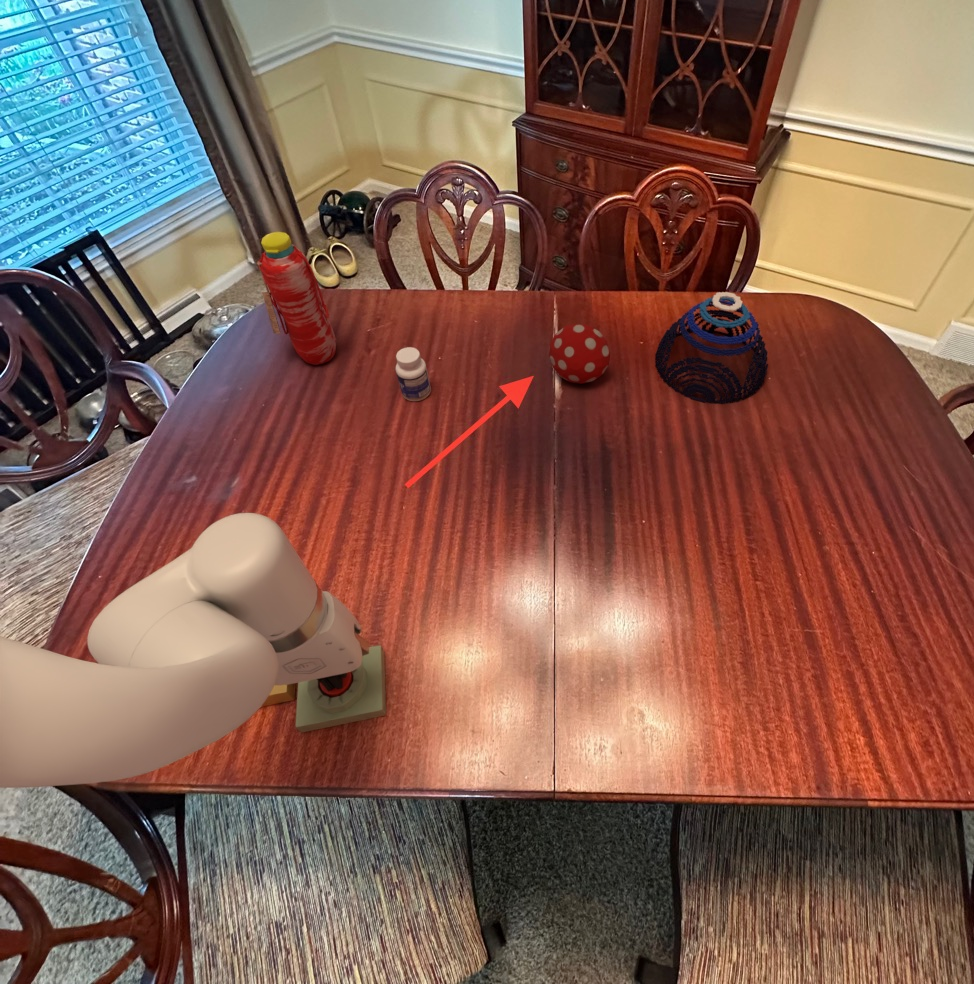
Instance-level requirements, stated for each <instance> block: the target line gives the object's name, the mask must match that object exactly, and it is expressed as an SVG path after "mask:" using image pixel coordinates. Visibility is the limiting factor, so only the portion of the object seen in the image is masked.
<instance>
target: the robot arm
mask: <svg viewBox="0 0 974 984" xmlns="http://www.w3.org/2000/svg"><path fill="white" fill-rule="evenodd" d="M361 632H362V626H361V624H360V623H359V621H358V619H357V617H356V616H355V615H354V614H353V612H352V611H351V610H350V609H349V608H348V607H347V606H346V605H345V603H343V602H342V601H341V600H340V599H339V598H338V597H336V596H335V595H334V594H332V593H331V592H329V591H326V590H322V589H321V588H320V586H319V585H318V583H317V582H316V580H315V578H314V577H313V576H312V573H311V572H310V571H309V569H308V567H307V565H306V564H305V563H304V561H303V559H302V558H301V557H300V555H299V554H298V552H297V551H296V549H295V547H294V546H293V543H292V542H291V541H290V540H289V537H288V536H287V534H286V533H285V532H284V530H283V529H282V528H281V527H280V525H279V524H278V523H277V522H276V521H274V520H273V519H271V518H270V517H268V516H266V515H263V514H260V513H256V512H239V513H238V512H237V513H234V514H230V515H227V516H224V517H222V518H220V519H217V520H216V521H215V522H213V523H212V524H210V525H209V526H207V528H205V530H204V531H202V532H201V533H200V534H199V536H198V537H197V538H196V539H195V541H194V542H193V545H192V546H191V547H190V548H189V549H187V550H186V551H185V552H183V553H181V554H180V555H179V556H177V557H176V558H174V559H173V560H172V561H170V562H168V563H167V564H165V565H164V566H162V567H160V568H159V569H157V570H156V571H154V572H152V573H151V574H149V575H147V576H146V577H144V578H142V579H141V580H139V581H138V582H136V583H135V584H133V585H132V586H130V587H129V588H127V589H125V590H124V591H123V592H122V593H120V594H118V595H117V596H116V597H115V598H114V599H112V600H111V601H110V602H109V603H107V604H106V605H105V606H104V608H102V610H101V611H100V612H99V613H98V614H97V615H96V617H95V618H94V619H93V622H92V623H91V625H90V627H89V630H88V633H87V638H86V640H87V642H86V643H87V648H88V651H89V653H90V655H91V656H92V658H93V659H94V660H95V661H96V662H93V661H88V660H83V659H79V658H75V657H72V656H67V655H64V654H61V653H57V652H54V651H51V650H48V649H45V648H42V647H39V646H35V645H33V644H28V643H25V642H22V641H18V640H15V639H11V638H8V637H5V636H0V789H1V788H2V789H4V788H5V789H8V788H9V789H17V788H18V789H21V788H22V789H23V788H43V787H44V788H45V787H56V786H73V785H74V786H75V785H85V784H97V783H98V784H99V783H104V782H105V783H106V782H113V781H119V780H125V779H130V778H135V777H138V776H142V775H146V774H149V773H152V772H154V771H156V770H160V769H162V768H164V767H167V766H169V765H170V764H174V763H176V762H177V761H180V760H182V759H183V758H185V757H188V756H190V755H192V754H194V753H196V752H198V751H200V750H202V749H204V748H205V747H207V746H209V745H211V744H213V743H215V742H217V741H219V740H221V739H222V738H224V737H226V736H227V735H229V734H230V733H232V732H234V731H235V730H236V729H238V728H239V727H240V726H242V725H243V724H244V723H245V722H247V721H248V720H249V719H250V718H251V717H252V716H254V715H255V714H256V712H258V711H259V710H260V709H261V706H262V705H263V703H264V702H265V701H266V699H267V697H268V696H269V694H270V693H271V691H272V689H273V687H274V685H287V684H293V683H296V684H298V682H304V681H309V680H314V679H317V680H318V681H319V682H320V683H322V685H323V686H324V687H325V688H326V689H327V690H328V691H332V690H333V689H335V688H337V689H342V688H343V678H346V677H347V672H351V671H353V670H355V669H357V668H358V667H360V665H361V664H362V656H364V655H367V654H369V647H370V641H368V640H367V639H366V638H364V637H363V636H361V635H360V633H361ZM262 707H263V706H262Z"/></svg>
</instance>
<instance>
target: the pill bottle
mask: <svg viewBox="0 0 974 984" xmlns="http://www.w3.org/2000/svg"><path fill="white" fill-rule="evenodd" d="M395 358H396V365H395V373H396V377H397V380H398V384H399V388H400V392H401V395H402V397H403V398H404V399H405V400H407V401H410V402H421V401H423V400H424V399H426V398H427V397H428V396H429V395H430V394H431V392H432V387H431V383H430V378H429V373H428V368H427V364H426V361H425V360H424V359H423V358H422V357H421V353H420V351H419V349H417V348H416V347H412V346H407V347H403V348H400V350H398V351H397V353H396V354H395Z"/></svg>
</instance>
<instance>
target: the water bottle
mask: <svg viewBox="0 0 974 984" xmlns="http://www.w3.org/2000/svg"><path fill="white" fill-rule="evenodd" d="M260 243H261V246H262V249H263V250H264V252H263V253H261V255H260V259H259V260H257V261H256V264H257V266H258V269H259V272H260V276H261V278H262V281H263V285H264V287H265V289H266V291H262V292H261V294H262V297H263V300H264V304H265V307H266V312H267V314H268V319H269V322H270V325H271V329H272V332H273V334H276V335H281V330H280V326H279V323H278V318H279V321H280V324H281V327H282V331H283V333H284V334H285V335H288V336H289V340H290V342H291V344H292V346H293V348H294V351H295V352H296V353H297V355H298V356H299V357H300V358H301V359H302V360H303V361H304V362H305V363H307V364H310V365H314V366H318V365H324V364H325V363H328V362H329V361H331V360H332V359H333V358H334V356H335V355H336V350H337V338H336V335H335V332H334V329H333V326H332V324H331V322H330V319H329V318H330V314H329V310H328V307H327V304H325V301H324V297H323V293H322V290H321V288H320V286H319V282H318V281H317V278H316V276H315V272H314V270H313V268H312V266H311V264H310V262H309V261H308V258H307V256H306V255H305V254H304V253H303V252H302V250H300V249H299V248H298V247H297V246H296V245H294V244H293V243H292V240H291V237H290V235H289V234H287V233H286V232H282V231H273V232H270V233H268V234H265V235H264V236H263V237H262V238H261V242H260ZM275 310H276V311H275ZM276 312H277V315H276ZM277 316H278V318H277Z"/></svg>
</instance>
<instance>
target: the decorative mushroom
mask: <svg viewBox="0 0 974 984" xmlns="http://www.w3.org/2000/svg"><path fill="white" fill-rule="evenodd" d="M548 346H549V347H548V357H549V361H550V365H551V367H552V369H553V370H554V371H555V373H556V374H557V375H558V376H559V377H560V378H562V379H564V380H565V381H567V382H569V383H573V384H580V385H581V384H586V383H591V382H594V381H596V380H597V379H598V378H600V377H601V376H603V375H604V373H605V371H606V370H607V369H608V367H609V365H610V359H611V350H610V347H609V343H608V340H607V339H606V338H605V337H604V336H603V334H602V333H601V332H600V331H599V330H598V329H596V328H594V327H593V326H590V325H589V324H581V323H574V324H570V325H566V326H563V327H562V328H561V329H560V330H558V331H557V332H555V333H554V335H553V337H552V339H551V340H550V343H549V345H548Z"/></svg>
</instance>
